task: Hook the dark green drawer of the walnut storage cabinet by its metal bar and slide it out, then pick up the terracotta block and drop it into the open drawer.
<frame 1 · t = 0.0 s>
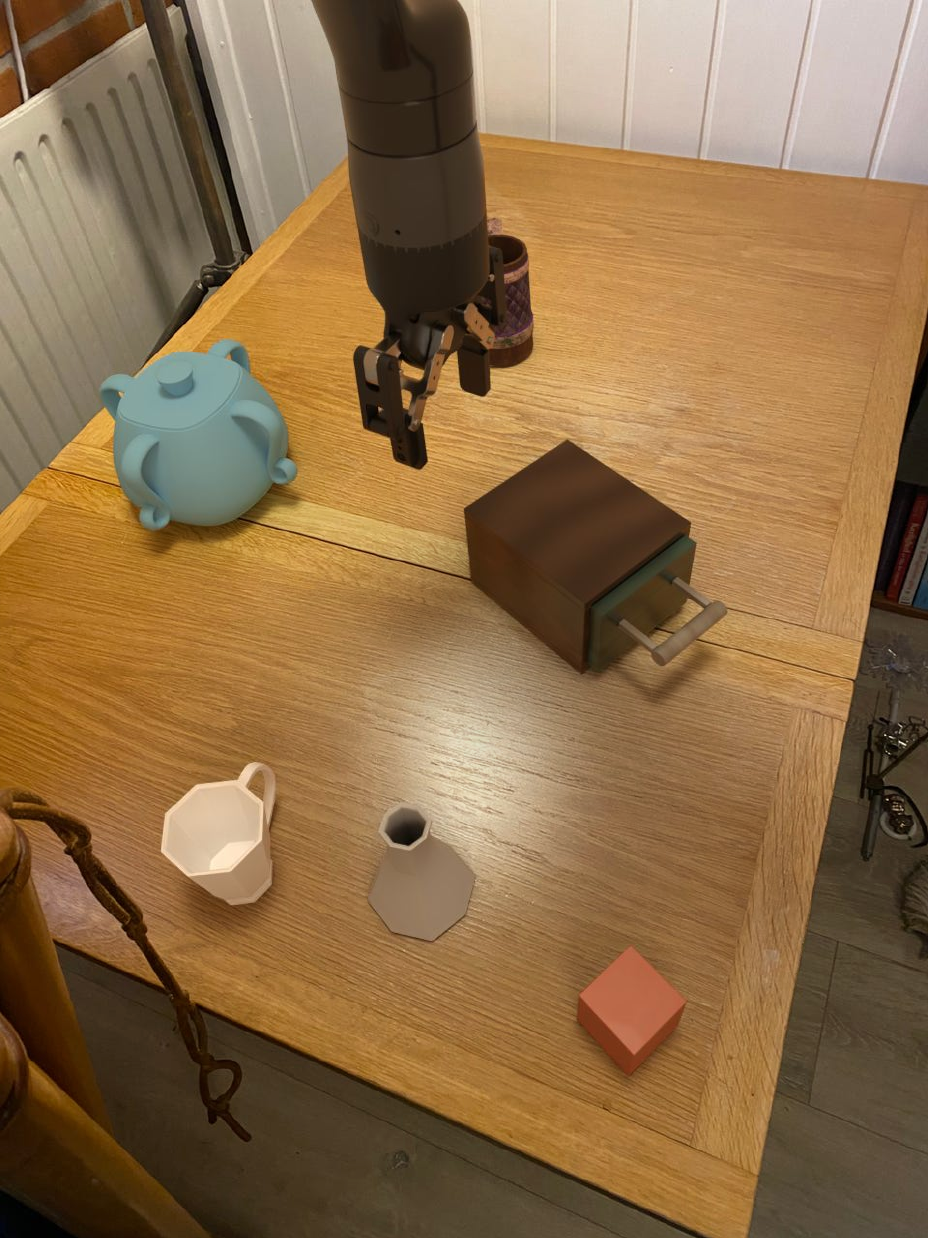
hand: (445, 426, 67), 19 cm above the table, tool pointing down, fingers open, 8 cm apart
mug: (501, 341, 105), on the table
cabinet: (573, 589, 82), on the table
decorative pot: (216, 484, 94), on the table
flask: (422, 890, 67), on the table
drawer: (611, 582, 76), point 5 cm above the table, slide at 0.0 cm
cup: (253, 858, 69), on the table
block: (627, 1022, 60), on the table
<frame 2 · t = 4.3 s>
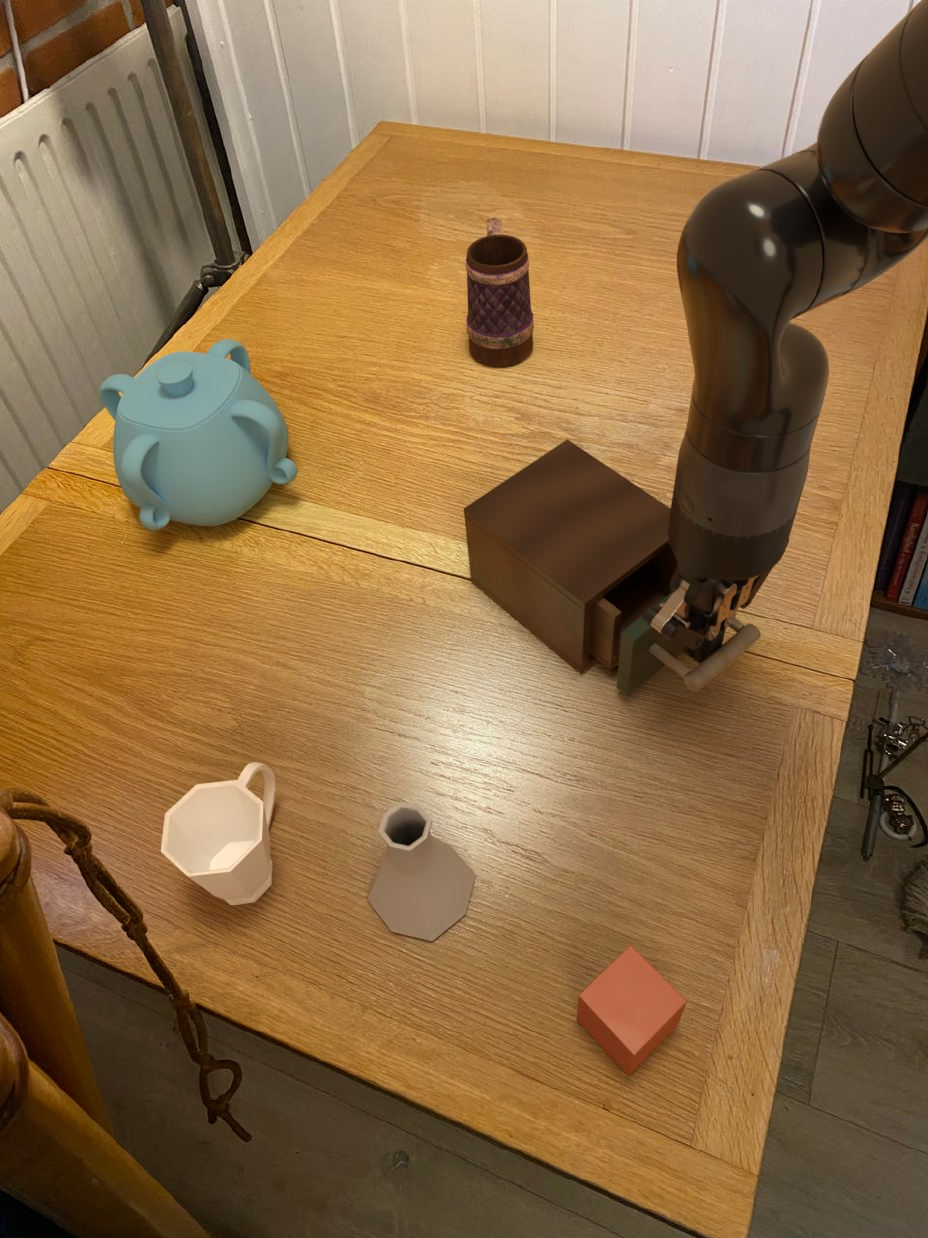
hand: (701, 653, 72), 4 cm above the table, tool pointing down, fingers closed
drawer: (640, 604, 75), point 5 cm above the table, slide at 3.1 cm, touching gripper
everything else where it was.
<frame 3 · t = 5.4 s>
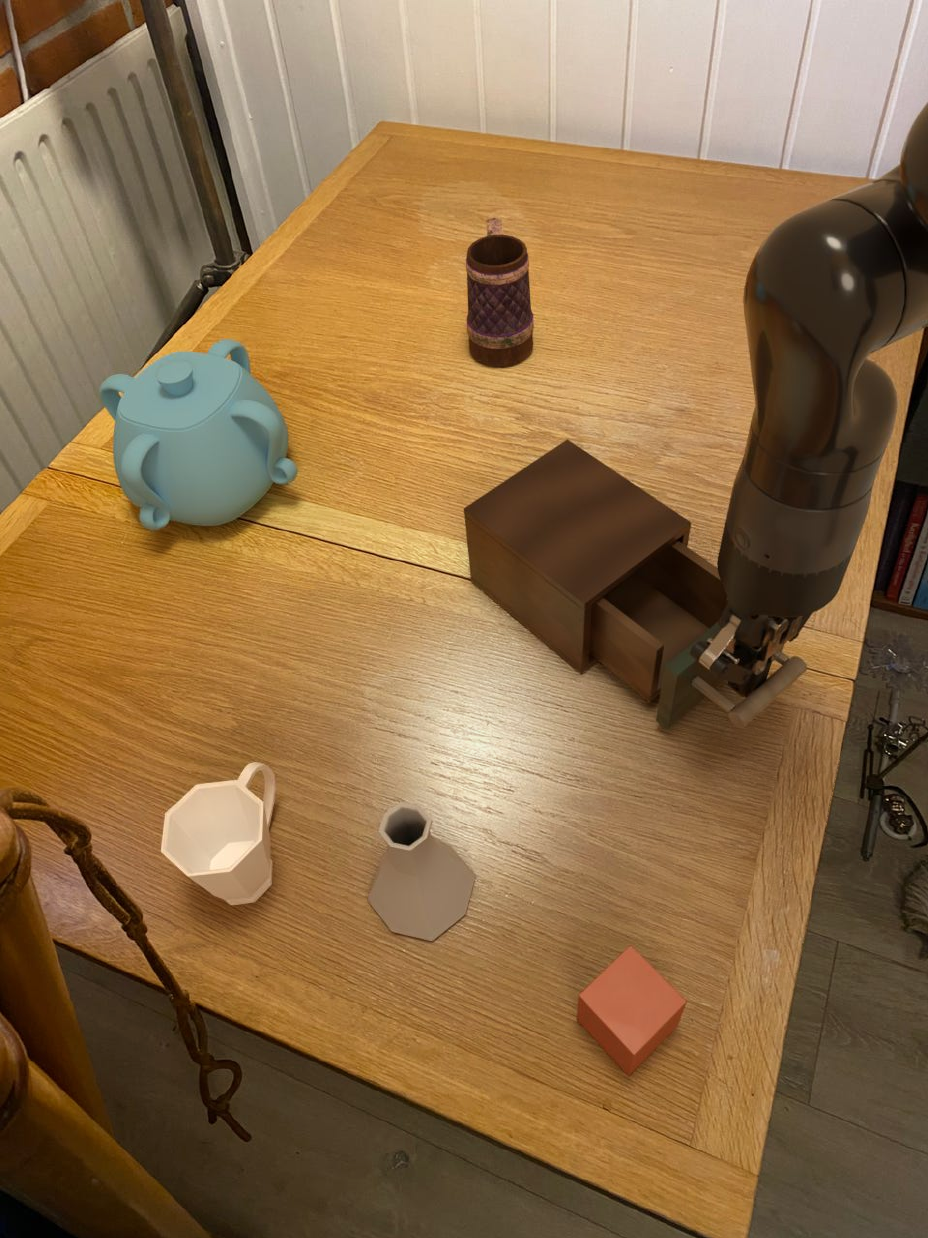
hand: (745, 686, 70), 4 cm above the table, tool pointing down, fingers closed
drawer: (680, 634, 73), point 5 cm above the table, slide at 7.2 cm, touching gripper
everything else where it was.
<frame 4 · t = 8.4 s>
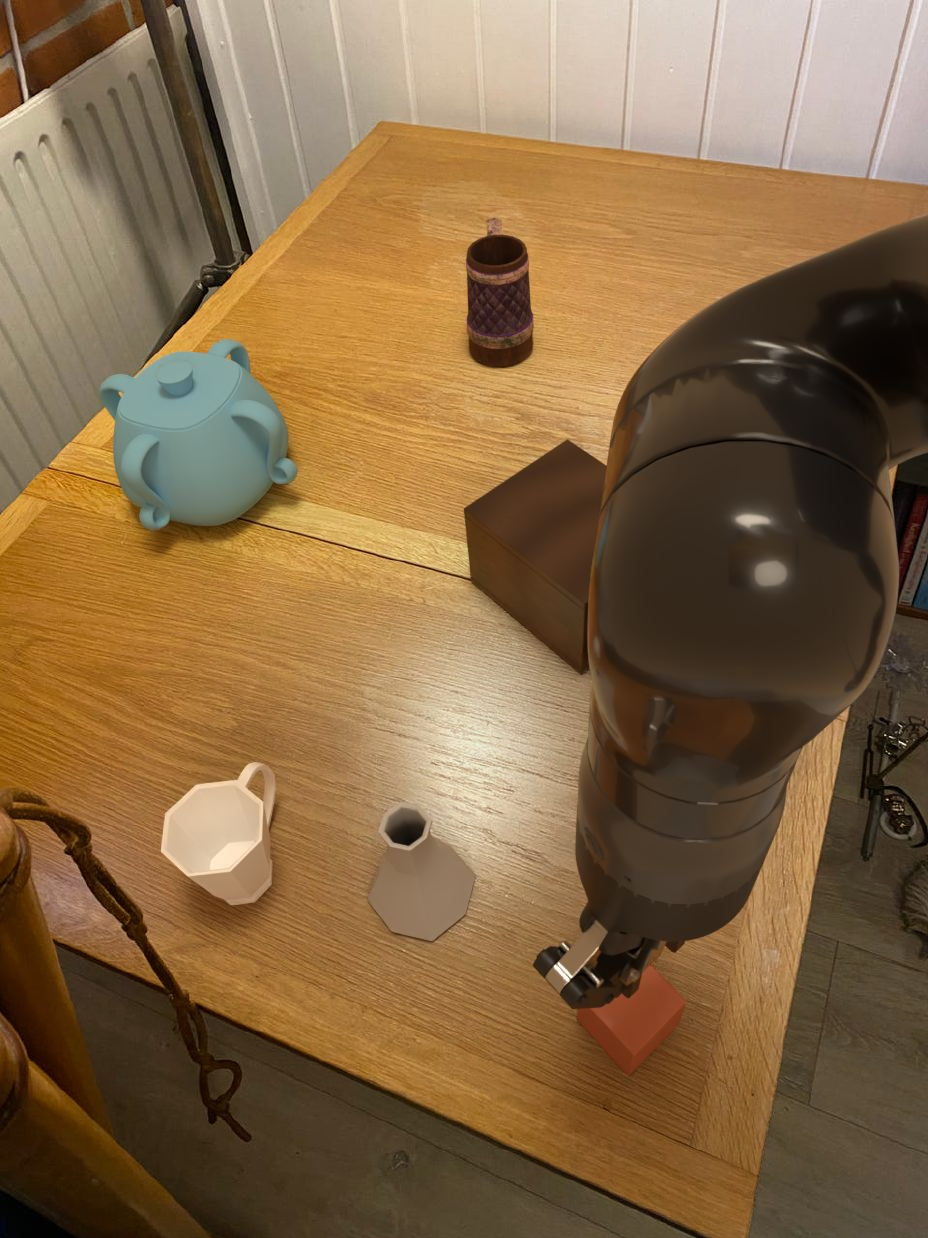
hand: (641, 956, 51), 12 cm above the table, tool pointing down, fingers open, 3 cm apart
drawer: (682, 635, 73), point 5 cm above the table, slide at 7.4 cm
everything else where it was.
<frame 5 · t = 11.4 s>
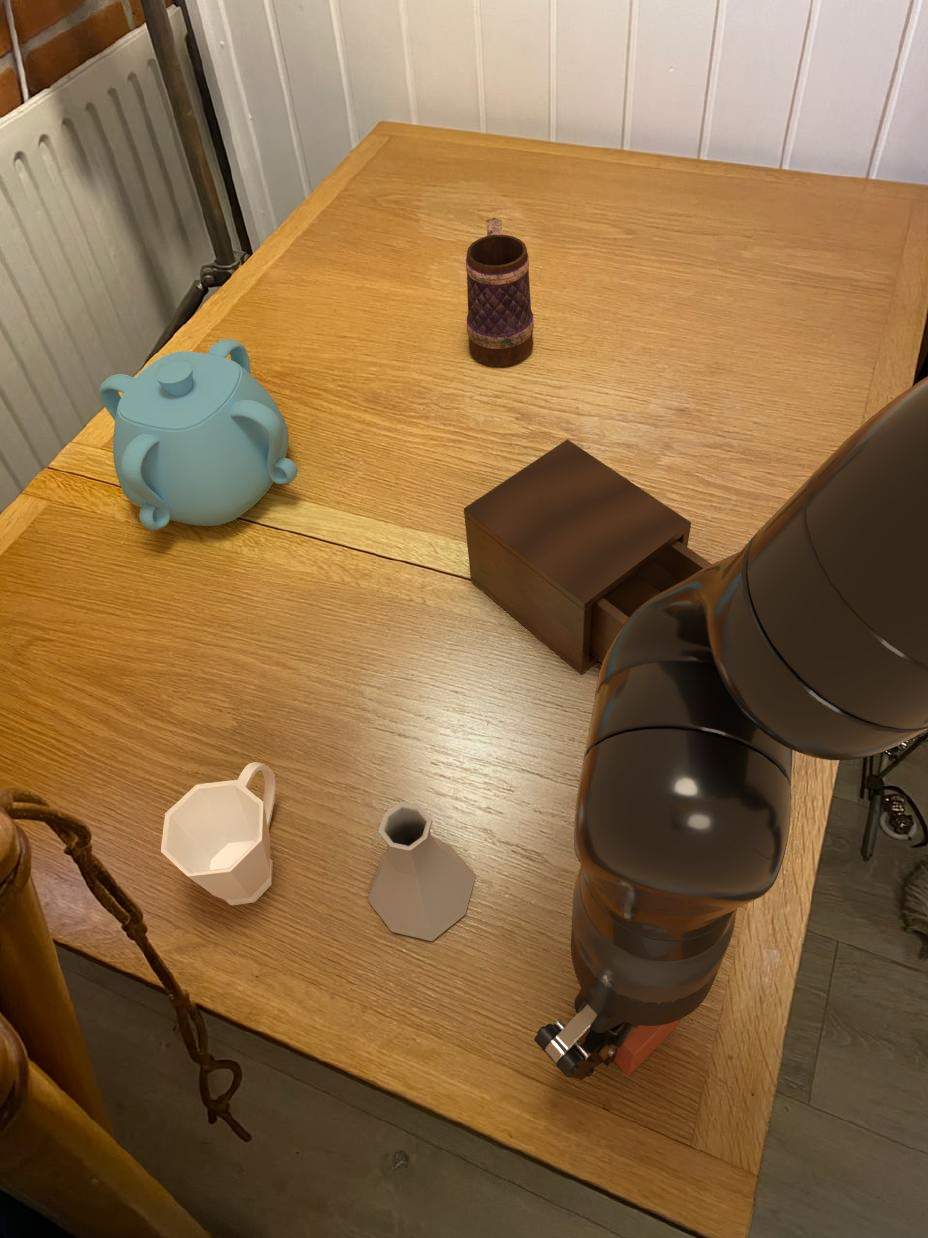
hand: (627, 1020, 60), 0 cm above the table, tool pointing down, fingers closed on block, 4 cm apart
block: (627, 1022, 60), on the table, touching gripper
everything else where it was.
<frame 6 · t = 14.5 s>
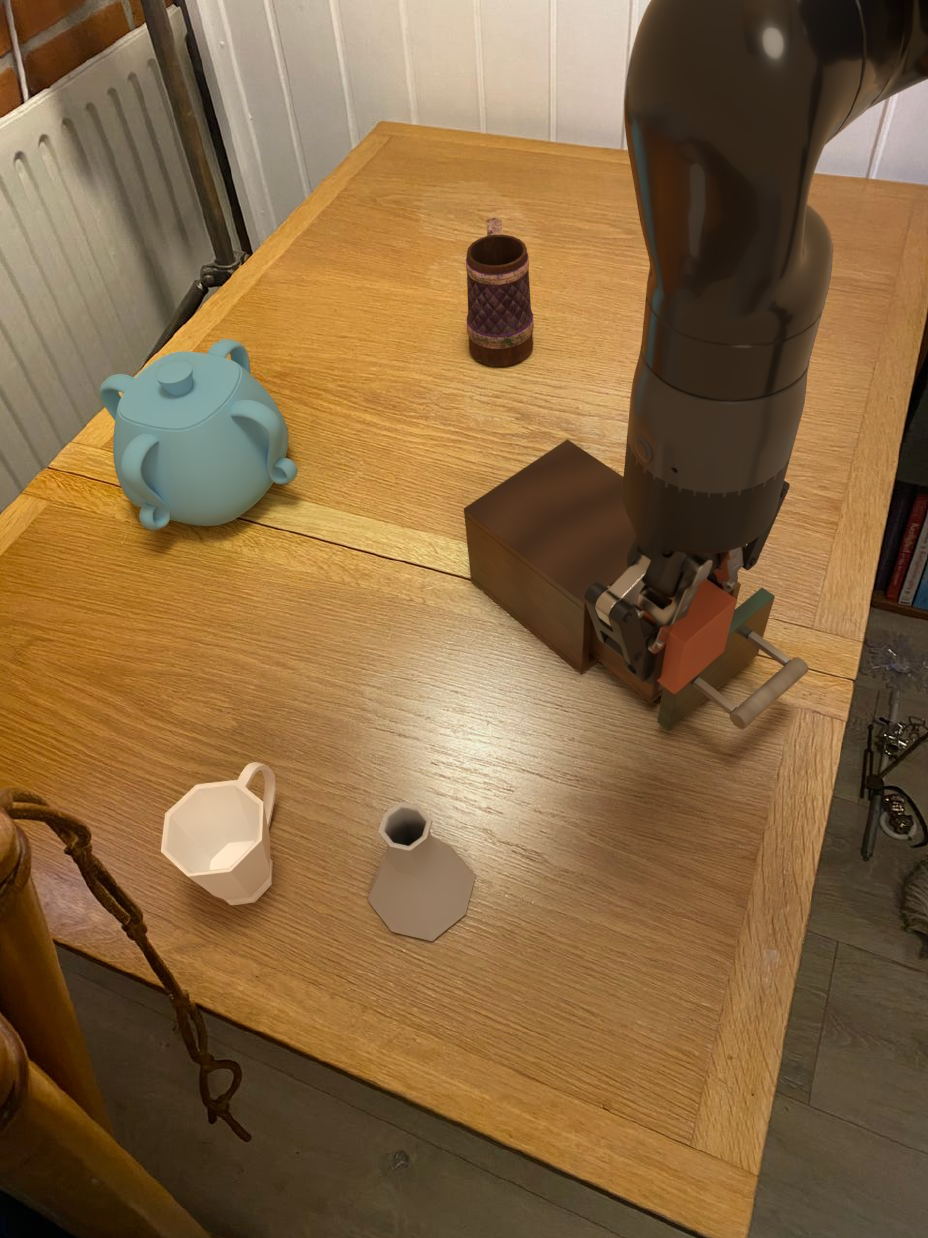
hand: (671, 647, 57), 16 cm above the table, tool pointing down, fingers closed on block, 4 cm apart
block: (670, 651, 58), point 16 cm above the table, touching gripper
everything else where it was.
when the fingers open (8 cm above the table, at t = 17.8 s): block drops 6 cm, resting on drawer.
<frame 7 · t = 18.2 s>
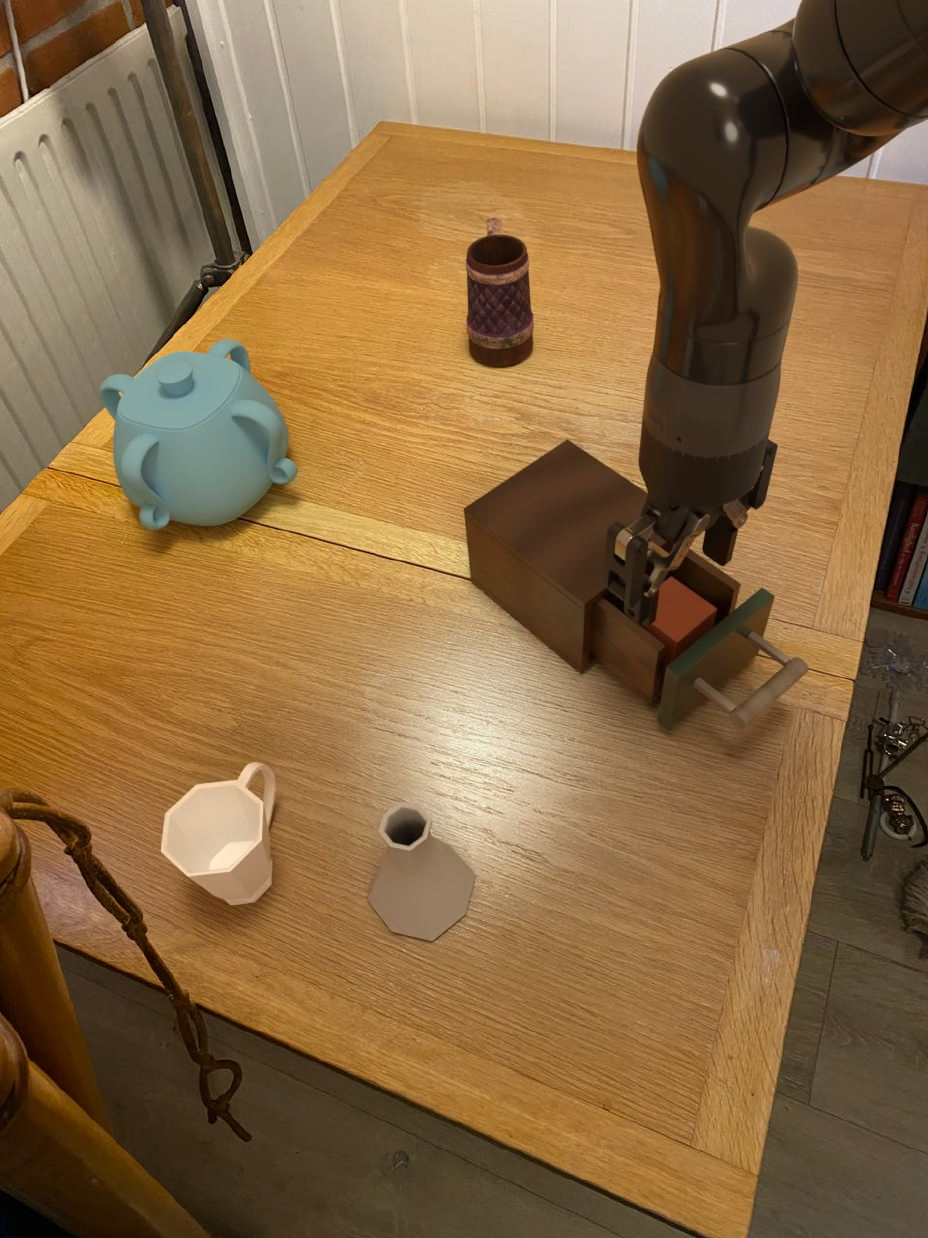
hand: (679, 586, 69), 9 cm above the table, tool pointing down, fingers open, 7 cm apart
drawer: (682, 635, 73), point 5 cm above the table, slide at 7.4 cm, touching block
block: (667, 647, 75), point 2 cm above the table, touching drawer
everything else where it was.
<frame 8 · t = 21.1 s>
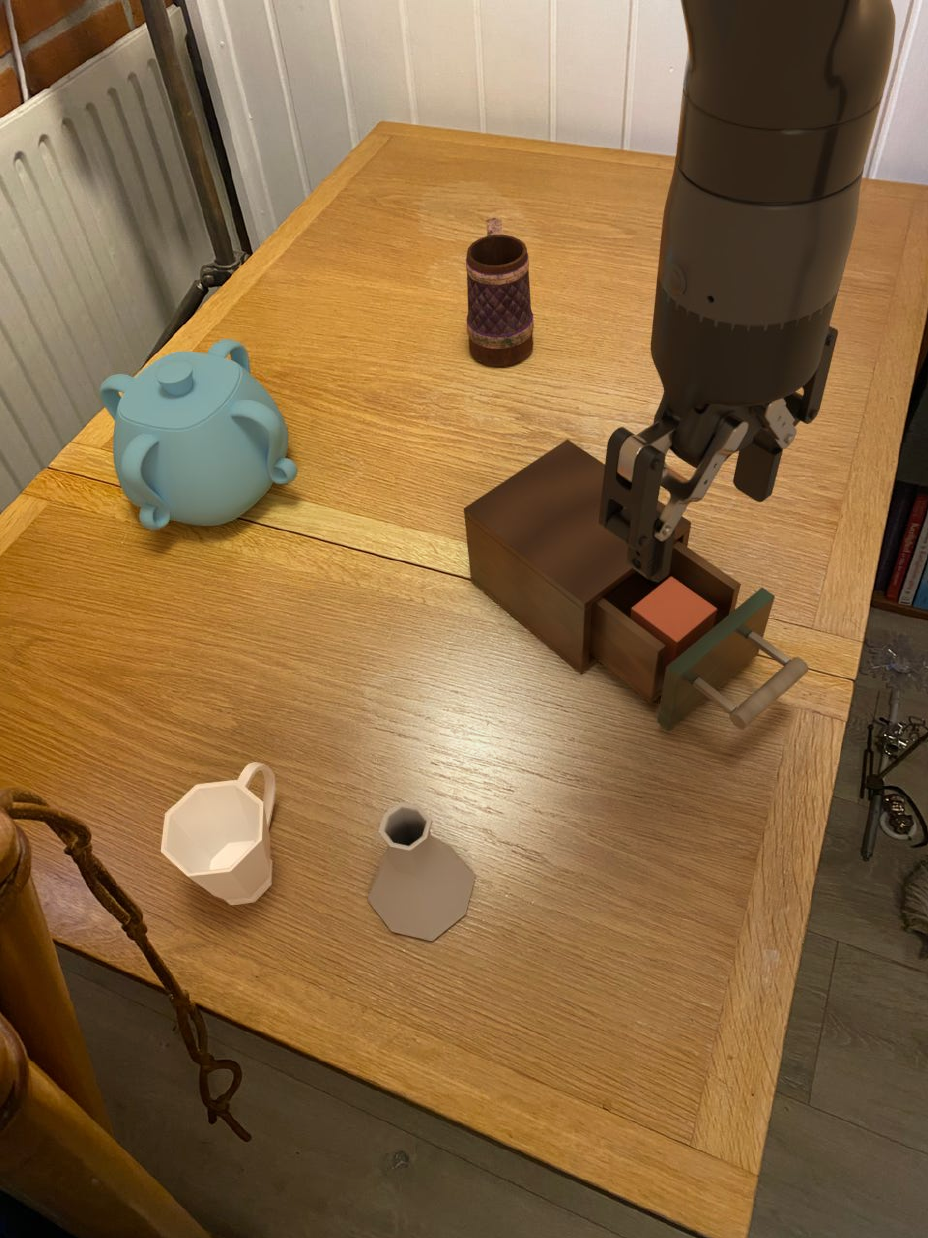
hand: (701, 530, 53), 24 cm above the table, tool pointing down, fingers open, 8 cm apart
nothing on the table moved.
at the end: drawer slide at 7.4 cm; block inside the target area in the drawer (1.1 cm from its centre), point 2.0 cm above the cabinet's base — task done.
